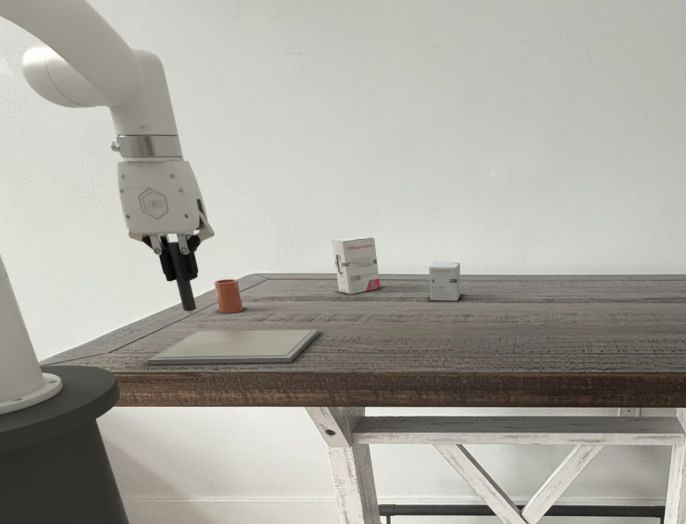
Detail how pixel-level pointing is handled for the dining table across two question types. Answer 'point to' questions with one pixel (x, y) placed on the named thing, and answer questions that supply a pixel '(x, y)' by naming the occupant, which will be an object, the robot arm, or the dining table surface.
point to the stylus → (181, 280)
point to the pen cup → (228, 295)
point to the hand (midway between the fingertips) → (182, 278)
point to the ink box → (356, 264)
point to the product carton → (444, 281)
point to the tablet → (237, 347)
